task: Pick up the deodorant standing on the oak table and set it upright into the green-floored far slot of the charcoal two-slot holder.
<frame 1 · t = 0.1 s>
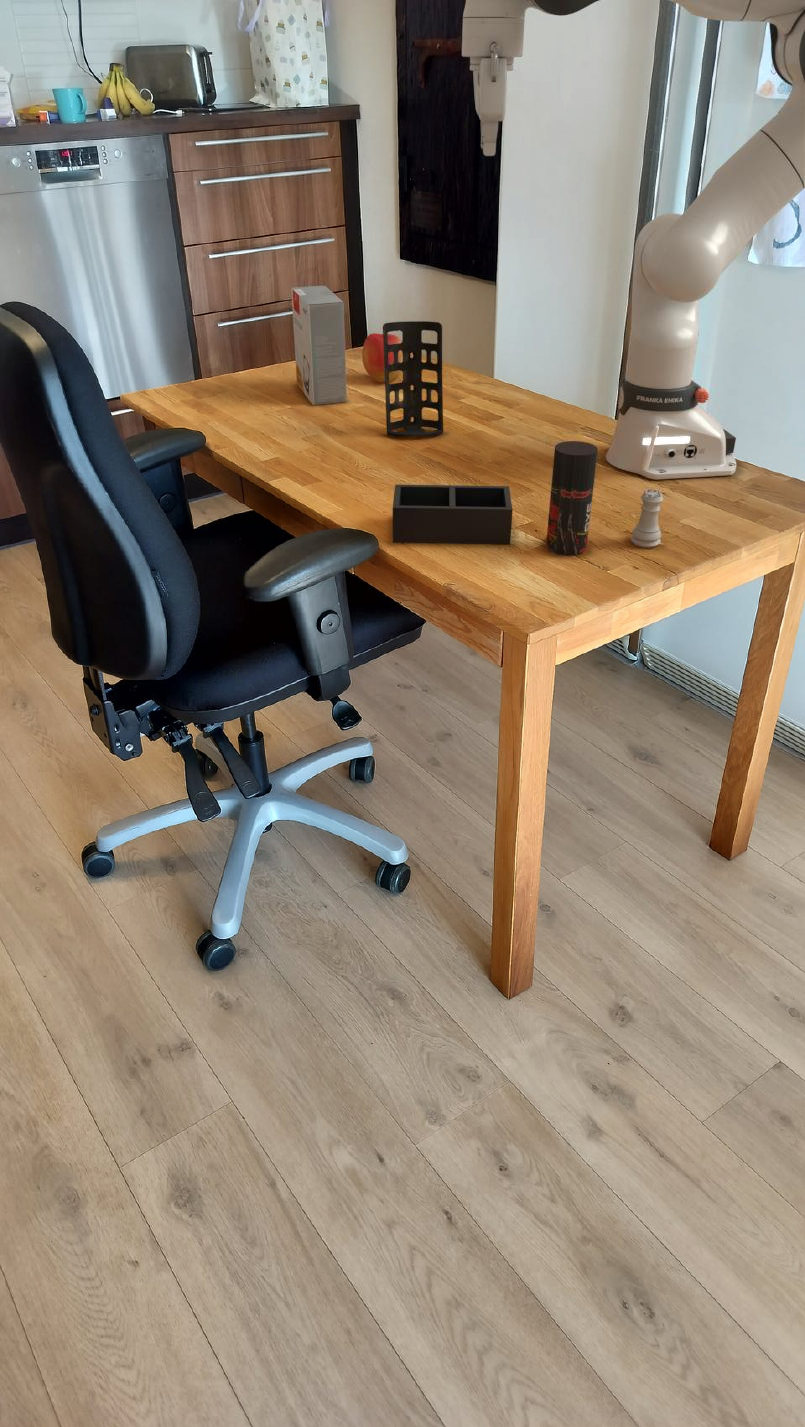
hand: (487, 152, 151), 48 cm above the table, tool pointing down, fingers open, 8 cm apart
rook chess piece: (645, 544, 149), on the table
hard drive box: (321, 394, 210), on the table
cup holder: (451, 531, 152), on the table
apple: (384, 382, 218), on the table
deodorant: (566, 548, 147), on the table
holder: (412, 433, 190), on the table
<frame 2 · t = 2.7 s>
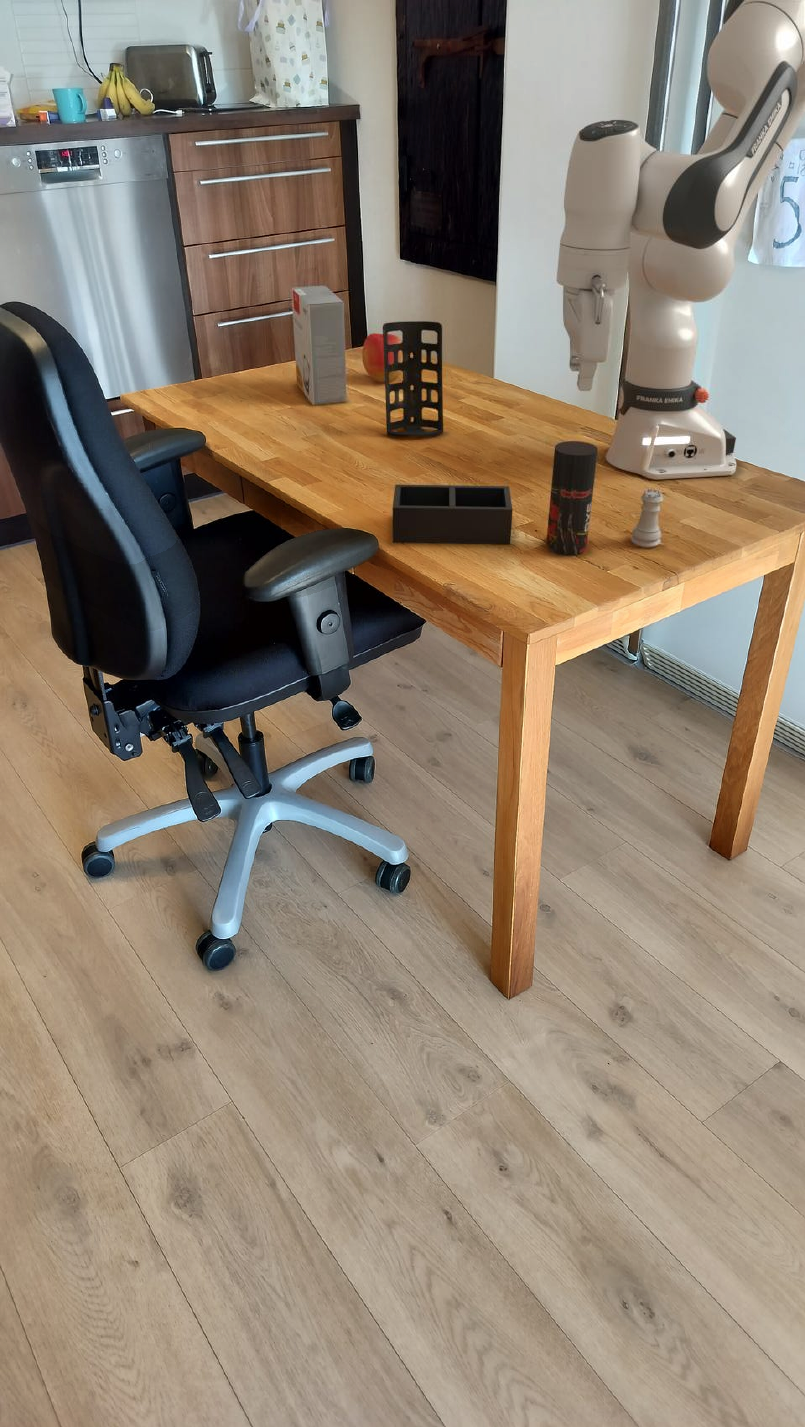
hand: (579, 379, 134), 24 cm above the table, tool pointing down, fingers open, 8 cm apart
nothing on the table moved.
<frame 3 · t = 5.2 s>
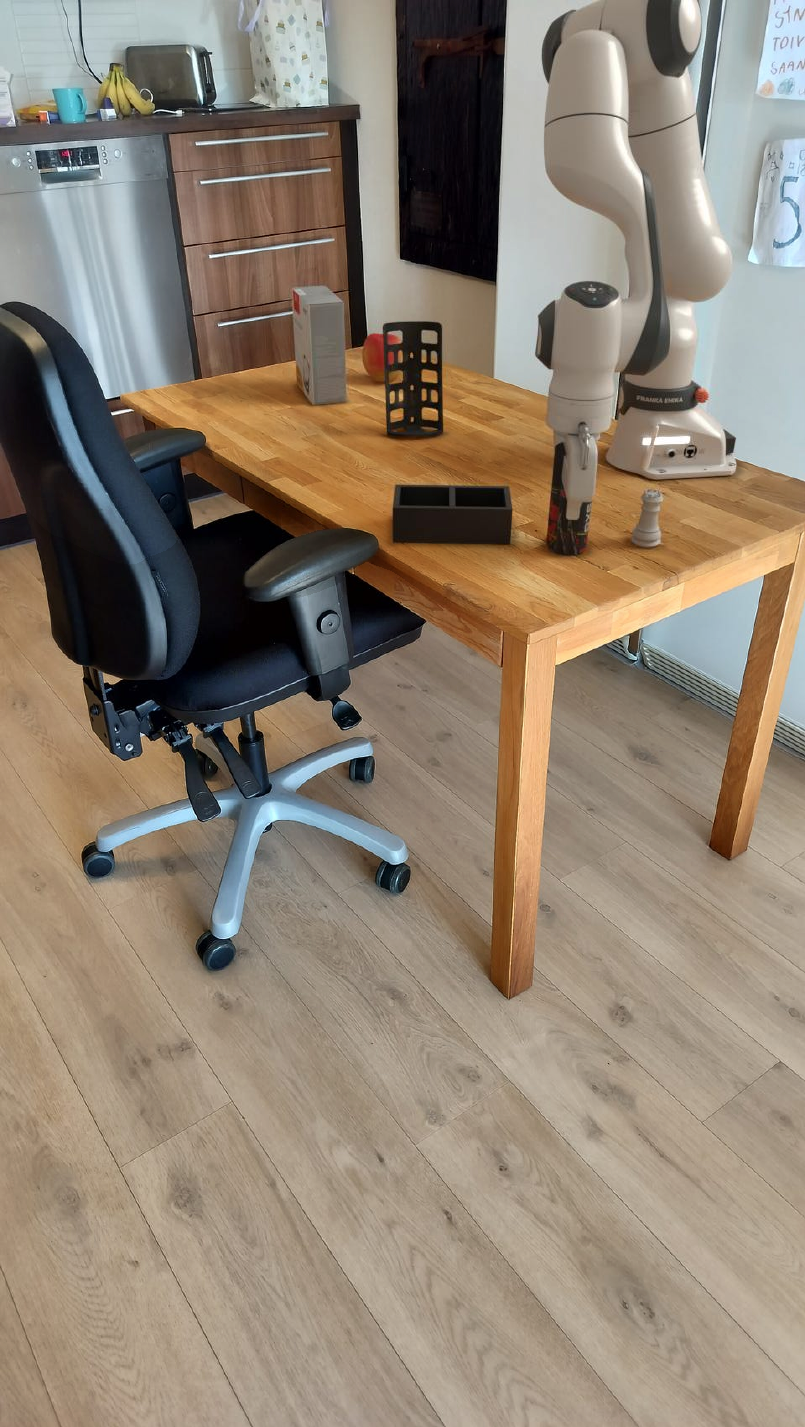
hand: (569, 507, 144), 6 cm above the table, tool pointing down, fingers closed on deodorant, 6 cm apart
deodorant: (565, 548, 147), on the table, touching gripper
everything else where it was.
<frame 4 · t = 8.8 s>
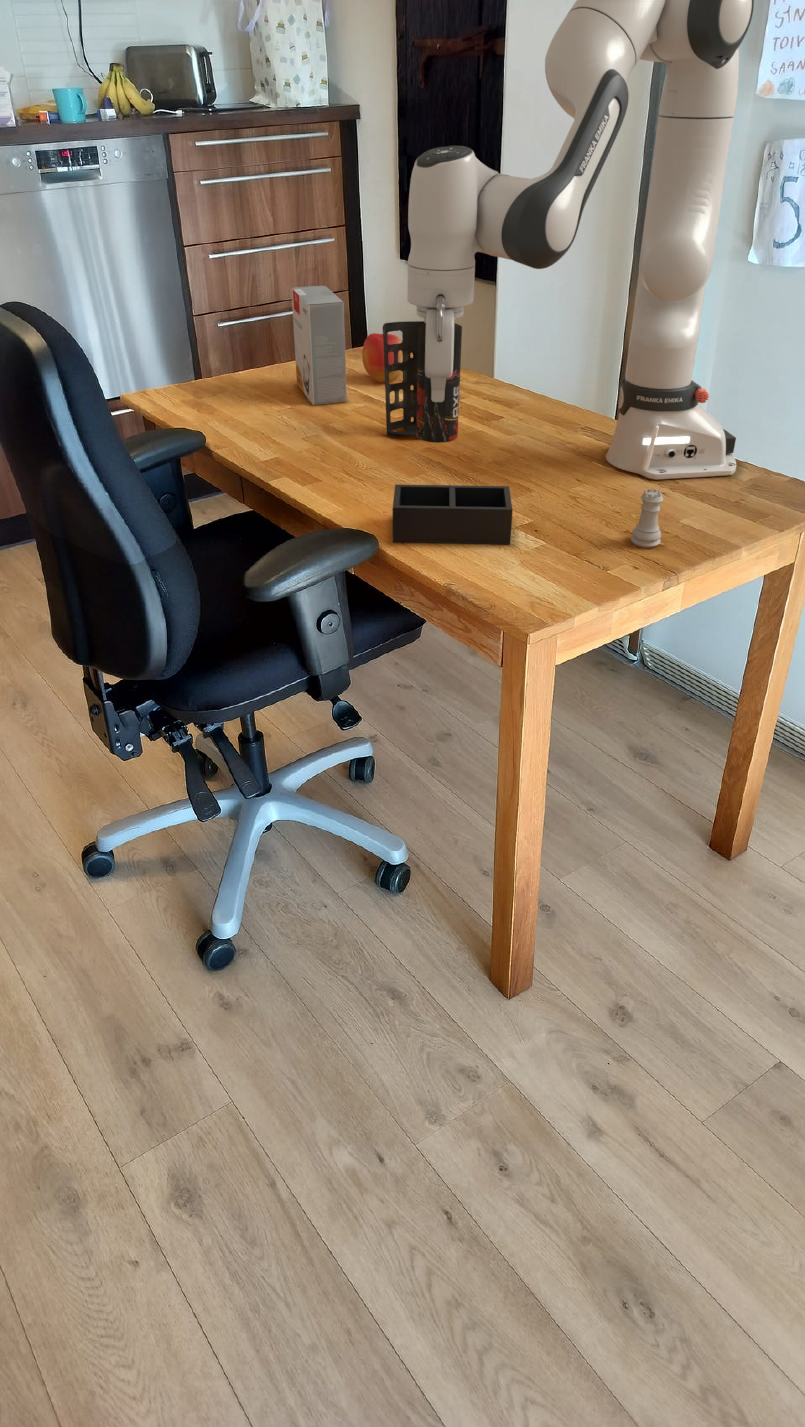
hand: (437, 392, 140), 21 cm above the table, tool pointing down, fingers closed on deodorant, 6 cm apart
deodorant: (437, 437, 143), point 15 cm above the table, touching gripper
everything else where it was.
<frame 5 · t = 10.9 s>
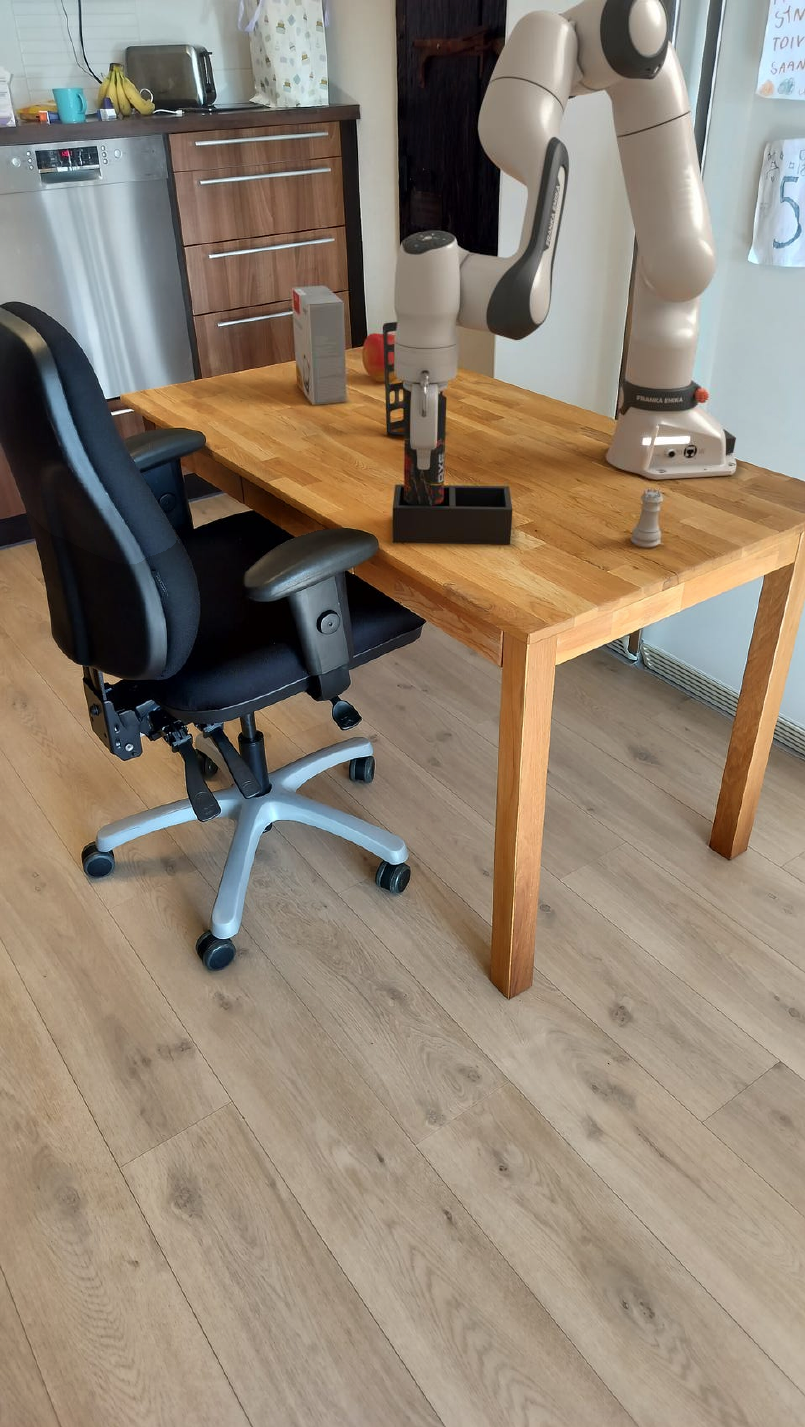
hand: (424, 459, 146), 11 cm above the table, tool pointing down, fingers closed on deodorant, 6 cm apart
deodorant: (423, 499, 149), point 5 cm above the table, touching gripper
everything else where it was.
when the fingers open (7 cm above the table, at t = 12.7 s): deodorant stays where it is, resting on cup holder.
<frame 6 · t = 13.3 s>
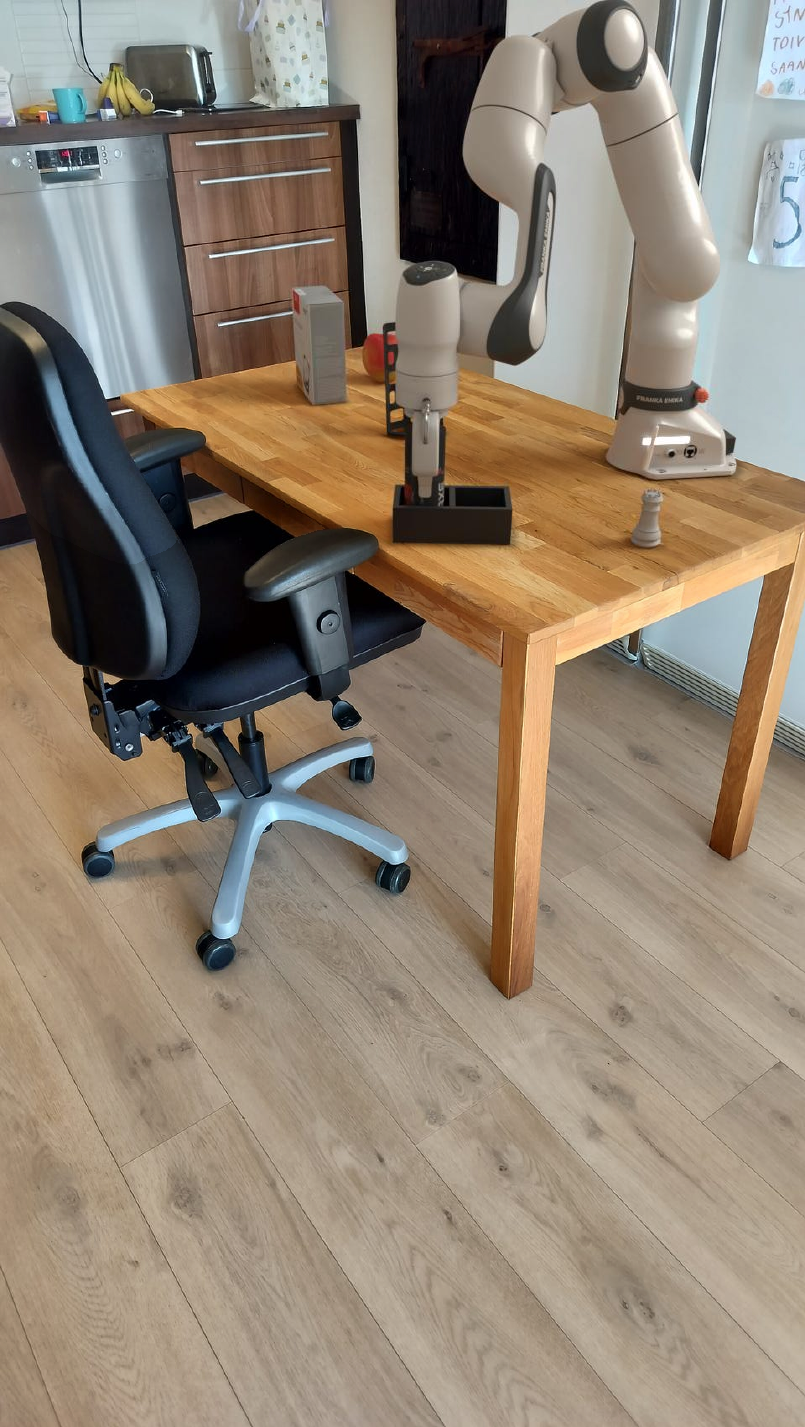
hand: (425, 483, 147), 8 cm above the table, tool pointing down, fingers open, 8 cm apart
deodorant: (423, 526, 152), point 1 cm above the table, touching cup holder
everything else where it was.
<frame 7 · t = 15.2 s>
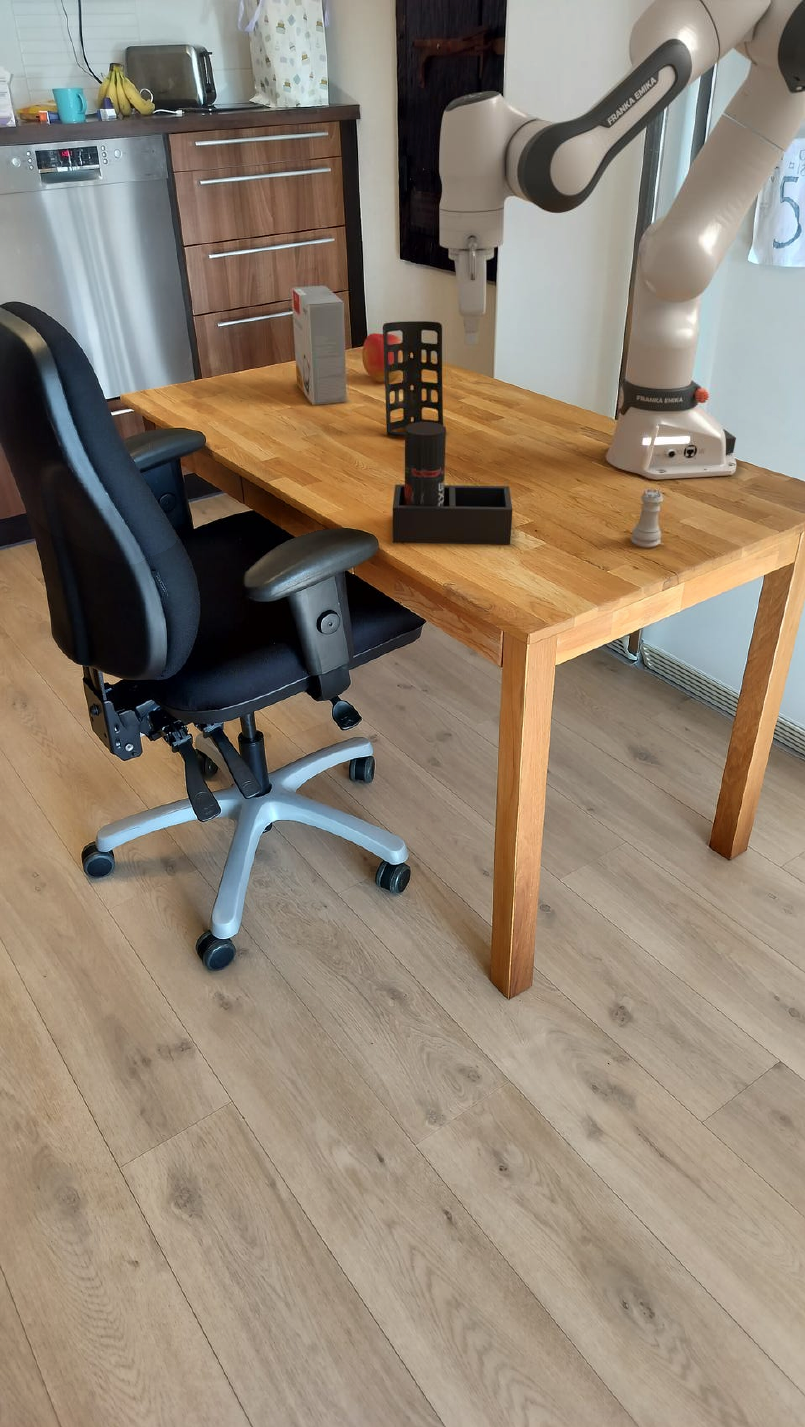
hand: (470, 335, 145), 26 cm above the table, tool pointing down, fingers open, 8 cm apart
nothing on the table moved.
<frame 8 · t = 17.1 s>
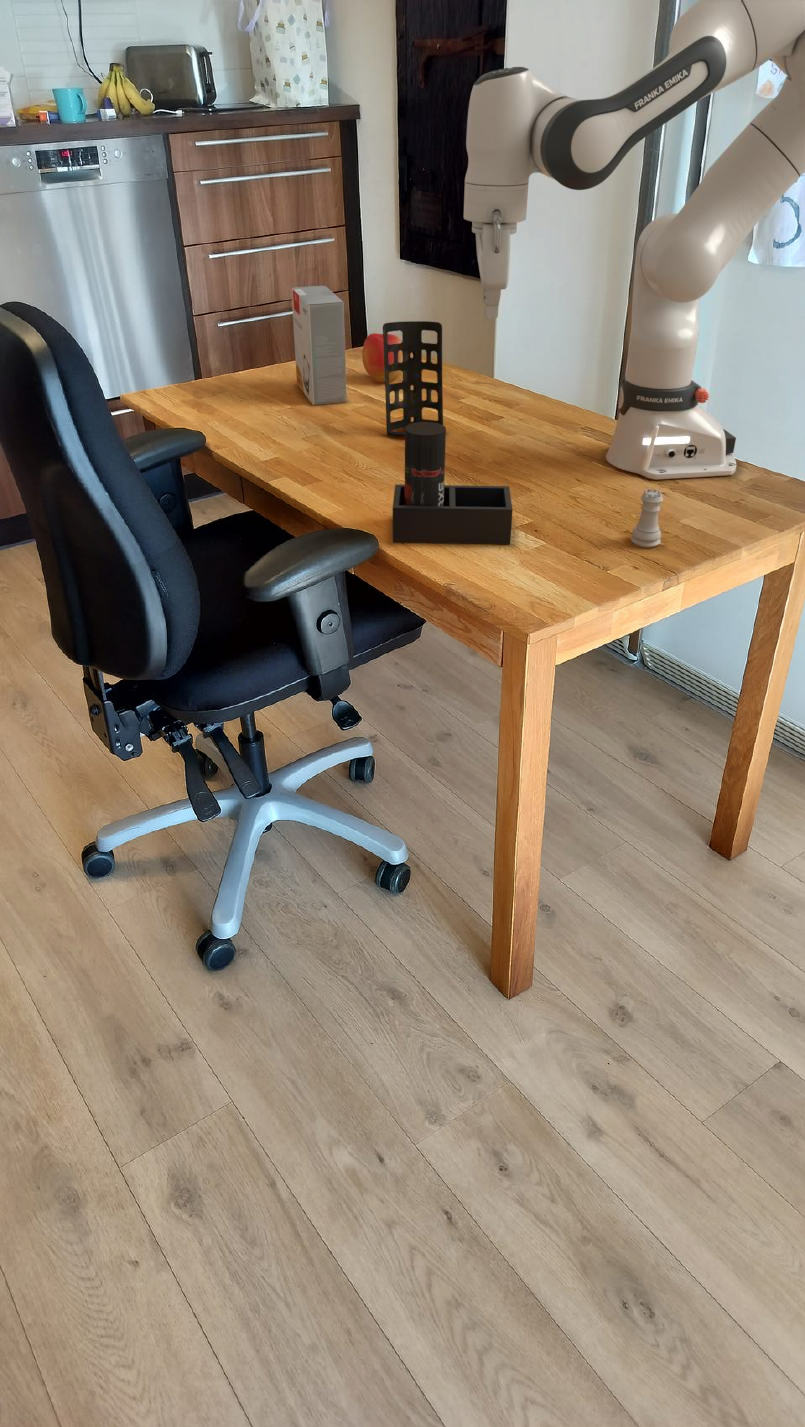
hand: (490, 310, 147), 29 cm above the table, tool pointing down, fingers open, 8 cm apart
nothing on the table moved.
at the end: deodorant 0.1 cm from the target spot in the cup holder, point 0.6 cm above the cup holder's base; deodorant tilted 0°; the gripper is holding nothing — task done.
